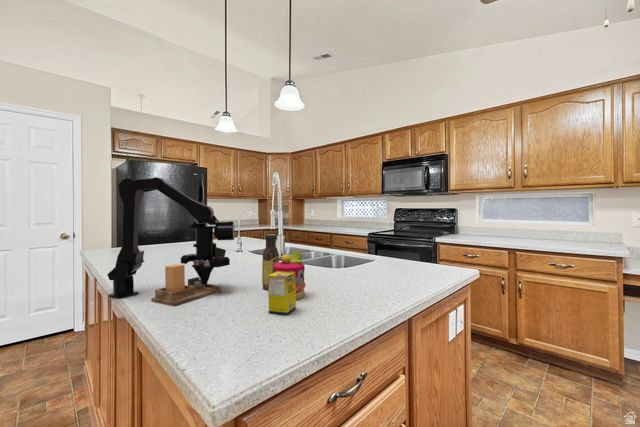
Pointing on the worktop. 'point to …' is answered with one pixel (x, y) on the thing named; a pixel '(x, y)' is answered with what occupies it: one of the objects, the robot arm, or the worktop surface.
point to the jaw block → (175, 277)
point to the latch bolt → (199, 283)
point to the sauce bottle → (269, 258)
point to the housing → (184, 293)
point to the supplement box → (281, 292)
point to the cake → (296, 266)
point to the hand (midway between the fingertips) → (205, 284)
